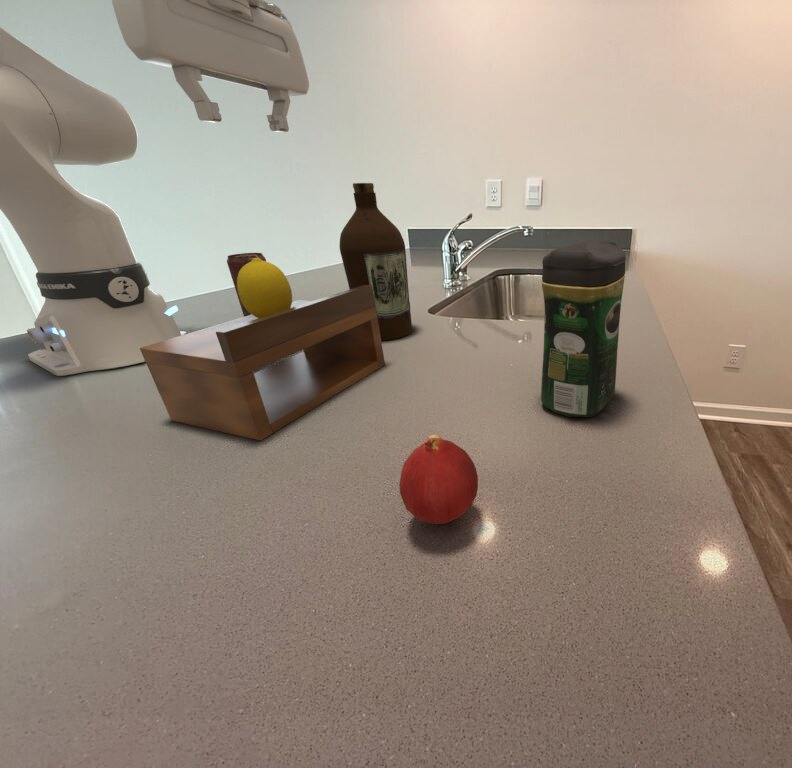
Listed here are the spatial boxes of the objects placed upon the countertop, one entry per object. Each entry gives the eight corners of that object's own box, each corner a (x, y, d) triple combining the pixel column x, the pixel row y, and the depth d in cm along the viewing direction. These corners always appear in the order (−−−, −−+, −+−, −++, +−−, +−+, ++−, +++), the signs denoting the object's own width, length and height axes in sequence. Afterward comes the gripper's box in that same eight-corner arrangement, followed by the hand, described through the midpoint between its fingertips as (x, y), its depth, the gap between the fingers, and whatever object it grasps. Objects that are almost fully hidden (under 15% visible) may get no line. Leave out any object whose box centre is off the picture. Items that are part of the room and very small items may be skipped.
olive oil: (346, 333, 76) (316, 184, 65) (397, 321, 82) (377, 184, 72) (373, 346, 69) (344, 182, 58) (426, 332, 75) (409, 182, 65)
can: (269, 333, 77) (247, 256, 71) (241, 332, 78) (216, 256, 72) (291, 324, 82) (272, 251, 76) (264, 322, 83) (243, 251, 77)
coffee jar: (564, 379, 55) (569, 235, 47) (621, 392, 52) (637, 238, 44) (529, 410, 48) (529, 245, 40) (593, 427, 44) (607, 249, 36)
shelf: (171, 420, 47) (127, 320, 42) (312, 354, 66) (294, 280, 61) (260, 441, 43) (224, 332, 38) (385, 364, 62) (372, 284, 56)
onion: (412, 497, 35) (399, 416, 31) (479, 492, 35) (474, 411, 32) (401, 552, 29) (383, 461, 26) (481, 545, 30) (474, 455, 26)
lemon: (264, 333, 47) (244, 262, 44) (240, 326, 50) (218, 259, 46) (308, 321, 51) (292, 255, 48) (283, 315, 54) (266, 253, 51)
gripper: (269, 15, 53) (295, 137, 59) (74, -69, 36) (139, 116, 42) (306, 7, 51) (330, 134, 57) (120, -85, 34) (181, 111, 40)
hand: (248, 127), depth 49 cm, fingers open, 8 cm apart
